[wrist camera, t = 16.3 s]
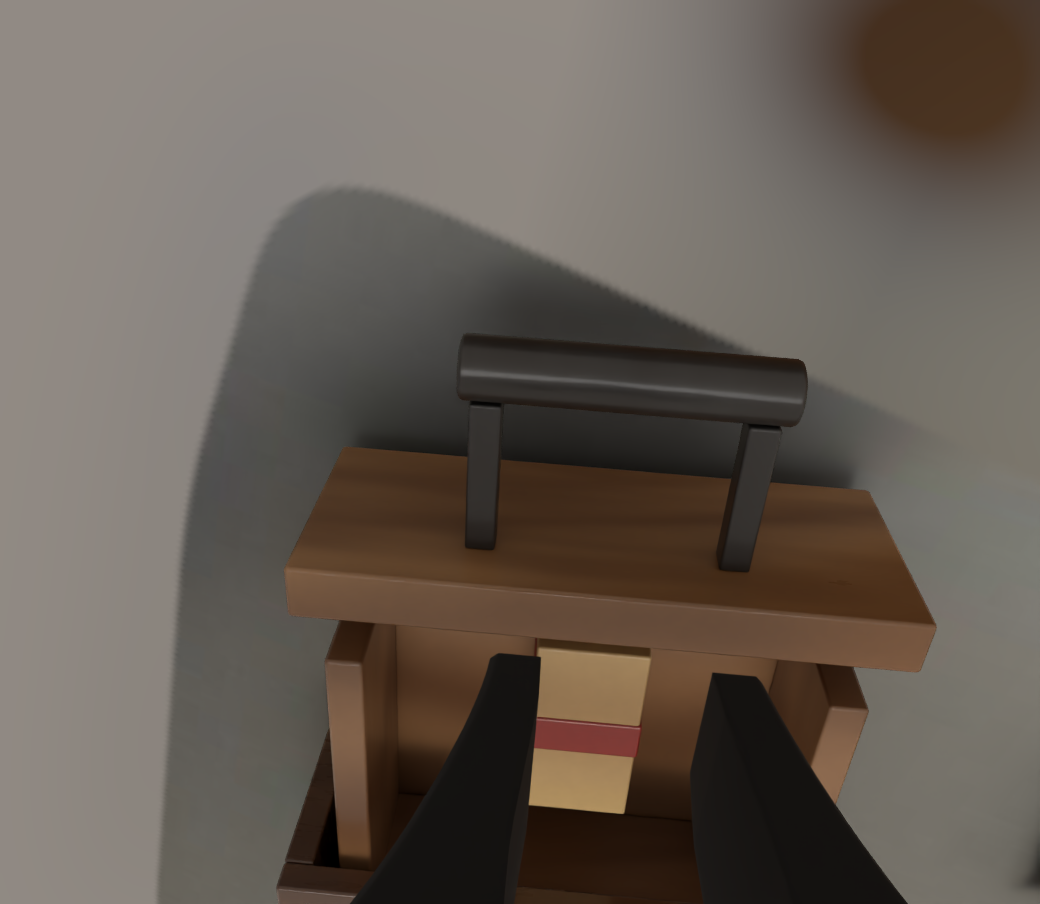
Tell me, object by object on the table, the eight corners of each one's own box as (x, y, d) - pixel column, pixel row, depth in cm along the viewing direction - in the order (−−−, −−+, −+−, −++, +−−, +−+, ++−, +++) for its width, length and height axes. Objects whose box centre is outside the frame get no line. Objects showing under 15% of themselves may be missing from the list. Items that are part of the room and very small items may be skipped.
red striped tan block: (622, 729, 23) (626, 817, 21) (527, 720, 23) (521, 807, 21) (647, 579, 21) (655, 659, 18) (540, 569, 21) (534, 648, 18)
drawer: (333, 261, 18) (260, 352, 14) (924, 307, 18) (1021, 414, 14) (359, 775, 26) (317, 927, 22) (770, 814, 26) (804, 977, 22)
